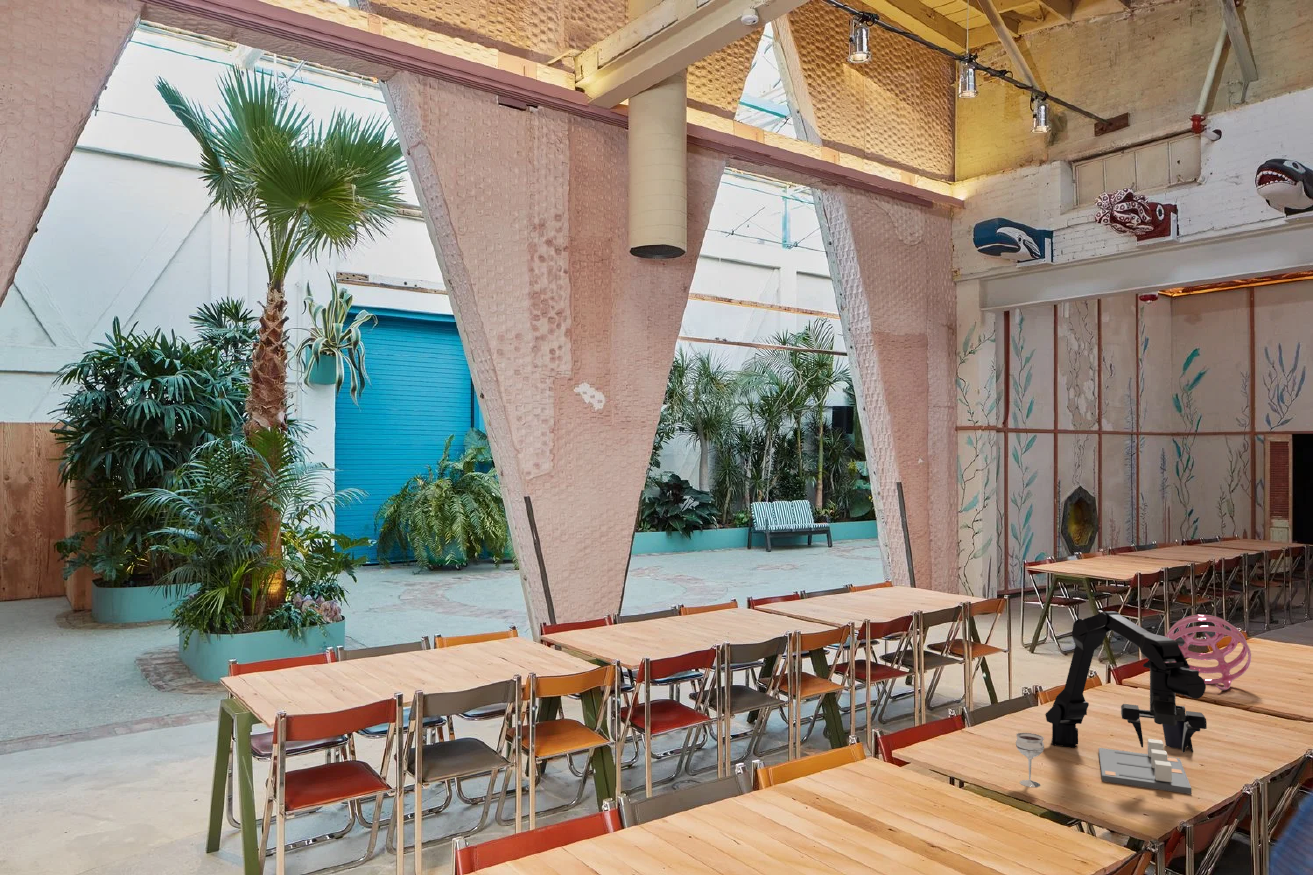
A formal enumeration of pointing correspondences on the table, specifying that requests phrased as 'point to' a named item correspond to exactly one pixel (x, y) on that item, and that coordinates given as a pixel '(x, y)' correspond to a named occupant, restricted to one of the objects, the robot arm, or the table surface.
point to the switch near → (1163, 771)
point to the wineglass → (1029, 751)
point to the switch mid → (1158, 756)
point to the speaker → (1175, 735)
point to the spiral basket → (1211, 641)
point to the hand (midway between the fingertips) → (1162, 749)
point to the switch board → (1140, 771)
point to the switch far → (1154, 745)
